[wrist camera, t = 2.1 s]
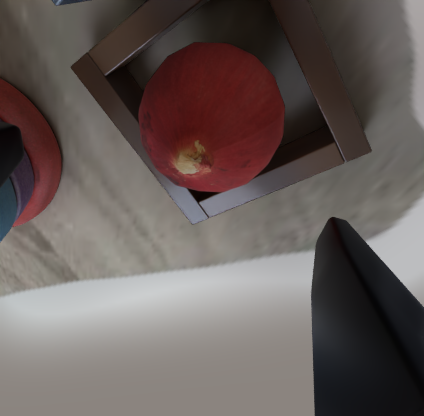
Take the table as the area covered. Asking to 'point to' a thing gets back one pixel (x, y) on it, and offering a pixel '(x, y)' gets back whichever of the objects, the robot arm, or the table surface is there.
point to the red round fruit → (211, 117)
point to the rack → (284, 156)
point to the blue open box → (67, 2)
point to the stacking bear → (28, 162)
